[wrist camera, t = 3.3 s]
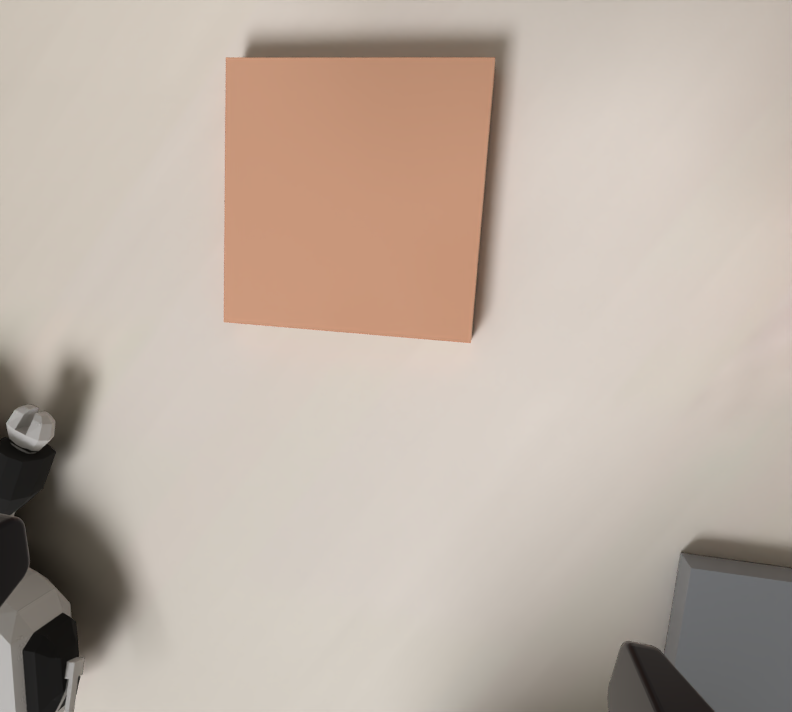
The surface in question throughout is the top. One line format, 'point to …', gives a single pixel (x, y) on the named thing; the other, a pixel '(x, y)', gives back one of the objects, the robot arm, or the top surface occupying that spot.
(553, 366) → the top surface
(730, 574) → the slate tile
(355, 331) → the terracotta tile
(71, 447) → the top surface
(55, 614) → the robot toy
